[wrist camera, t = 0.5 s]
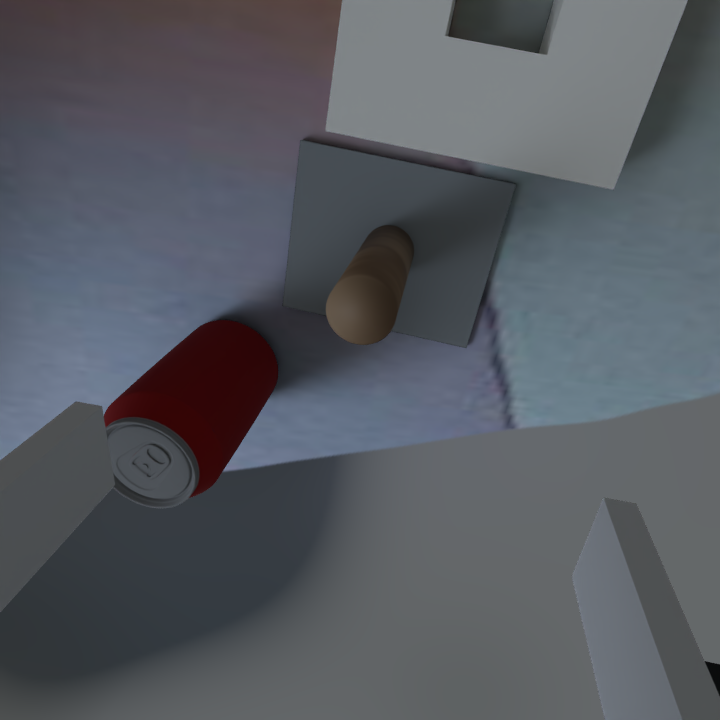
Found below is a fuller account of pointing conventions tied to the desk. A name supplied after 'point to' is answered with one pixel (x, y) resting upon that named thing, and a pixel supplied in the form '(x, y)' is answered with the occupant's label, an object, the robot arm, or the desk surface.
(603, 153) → the hole block
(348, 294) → the peg
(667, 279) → the desk surface
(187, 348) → the beverage can
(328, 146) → the mat
